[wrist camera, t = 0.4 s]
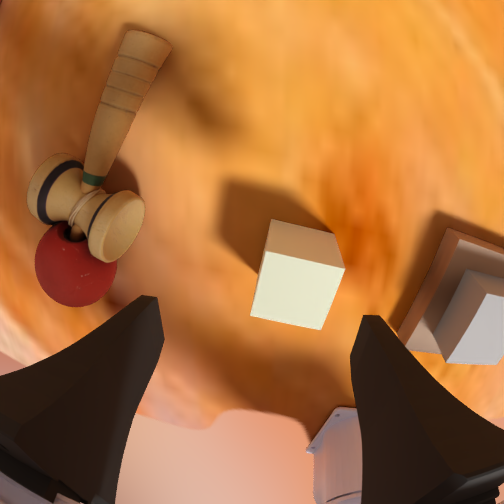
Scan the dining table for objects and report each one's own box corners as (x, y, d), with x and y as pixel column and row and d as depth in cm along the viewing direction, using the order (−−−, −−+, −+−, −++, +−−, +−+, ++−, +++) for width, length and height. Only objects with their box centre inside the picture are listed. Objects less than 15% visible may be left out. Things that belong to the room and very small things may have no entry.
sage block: (316, 287, 21) (320, 329, 17) (258, 274, 21) (250, 315, 17) (334, 233, 19) (345, 269, 15) (271, 218, 19) (265, 250, 15)
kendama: (109, 36, 16) (42, 260, 21) (74, 10, 10) (4, 300, 16) (210, 67, 18) (124, 294, 23) (208, 44, 12) (103, 344, 18)
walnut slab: (472, 339, 22) (483, 357, 20) (395, 328, 22) (402, 349, 20) (520, 253, 18) (536, 267, 16) (443, 223, 18) (459, 239, 16)
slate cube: (482, 339, 19) (496, 364, 16) (432, 334, 19) (445, 362, 17) (514, 281, 17) (534, 304, 14) (466, 268, 17) (486, 293, 14)
